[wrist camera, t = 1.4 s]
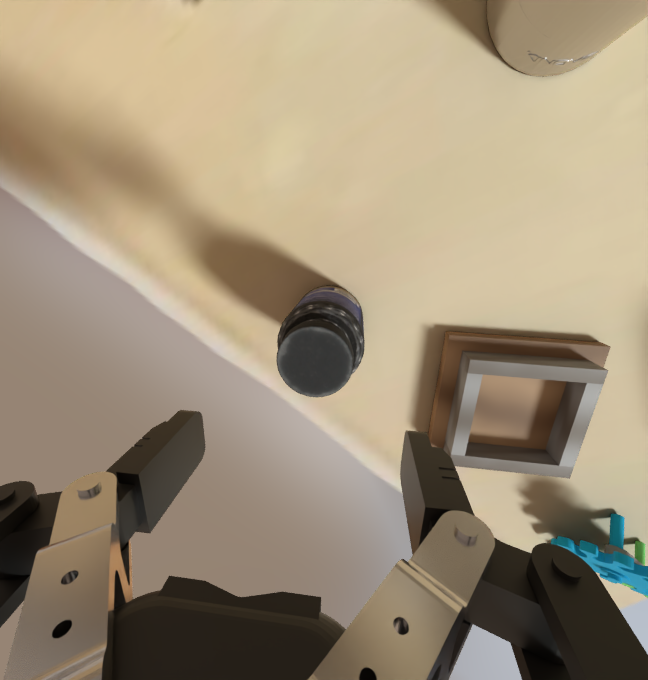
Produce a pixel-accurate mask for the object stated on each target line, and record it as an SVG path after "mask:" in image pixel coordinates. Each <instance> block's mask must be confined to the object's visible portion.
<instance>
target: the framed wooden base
mask: <svg viewBox="0 0 648 680" xmlns="http://www.w3.org/2000/svg"><path fill="white" fill-rule="evenodd" d="M609 350H610V346H608V345H605V344H603V343H601V342H590V341H576V340H562V339H548V338H534V337H520V336H506V335H491V334H477V333H463V332H449V331H446V334H445V339H444V345H443V351H442V357H441V363H440V368H439V374H438V380H437V386H436V392H435V397H434V403H433V409H432V415H431V420H430V426H429V432H428V437H429V440H430V443H431V446H432V447H439V448H442V449H443V450H444V451H445V452H446V453H447V454H448V455H449V456H450V457H451V458H452V461H453V463H454V466H459V467H469V468H478V469H487V470H497V471H506V472H515V473H524V474H534V475H543V476H552V477H562V478H570V476H571V473H572V471H573V468H574V465H575V462H576V459H577V457H578V454H579V451H580V448H581V445H582V443H583V440H584V437H585V434H586V431H587V429H588V426H589V423H590V420H591V417H592V415H593V412H594V409H595V406H596V403H597V400H598V398H599V395H600V392H601V389H602V386H603V384H604V381H605V378H606V375H607V372H608V370H606V369H604V368H603V367H604V364H605V361H606V358H607V356H608V353H609Z"/></svg>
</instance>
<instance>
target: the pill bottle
mask: <svg viewBox="0 0 648 680" xmlns="http://www.w3.org/2000/svg"><path fill="white" fill-rule="evenodd" d="M363 354H364V326H363V314H362V309H361V306H360V304H359V302H358V301H357V300H356V298H355V297H354V296H353V295H352V294H351V293H350V292H348V291H346V290H344V289H342V288H340V287H338V286H322V287H318V288H315V289H313V290H311V291H310V292H309V293H307V294H306V295H305V296H304V297H303V299H302V300H301V301H300V302H299V303H298V304H297V306H296V307H295V308H294V309H293V310H292V312H291V313H290V314H289V315H288V316H287V317H286V318H285V320H284V322H283V323H282V326H281V328H280V332H279V334H278V353H277V366H278V371H279V373H280V375H281V377H282V379H283V380H284V382H285V383H286V384H287V385H288V386H289V387H290V388H292V389H293V390H294V391H296V392H298V393H300V394H303V395H306V396H309V397H324V396H328V395H331V394H333V393H335V392H337V391H338V390H340V389H341V388H342V387H343V386H344V385H345V384H346V383H347V382H348V380H349V378H350V376H351V374H352V373H353V372H355V370H356V369H357V368H358V366H359V364H360V363H361V359H362V357H363Z"/></svg>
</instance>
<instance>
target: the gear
mask: <svg viewBox="0 0 648 680" xmlns="http://www.w3.org/2000/svg"><path fill="white" fill-rule="evenodd" d="M623 543H624V517H622V516H620V515H617V514H611V520H610V538H609V544H605V551H604V553H602V552H599V551H598V548H599V547H598V546H597V545H594V544H592V543H589V542H586V541H583V540H580V546H578V545H576V544H574V541H573V540H571V539H569V538H566V537H561V536H558V538H557V539H555V538H553V539H551V544H554V545H558V546H561V547H563V548H565V549H568V550H569V551H571V552H573V553H575V554H576V555H578V556H579V557H580V558H582V559H583V560H584V561H585V562H586V563H587V564H588V565H589V566H590V567H591V568H592V569H593V570H594V571H595V572H597V573H600V577H602V578H604V579H606V580H608V581H610V582H612V583H620V584H623V585H625V586H627V587H630V589H632V590H634V591H636V592H639V593H641V594H644V596H645V597H647V598H648V566H645V544H644V543H642V542H639V541H635V558H634V557H633V556H632V555H630V554H629V553H628V552H627V551H625V550H623Z"/></svg>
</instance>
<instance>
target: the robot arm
mask: <svg viewBox="0 0 648 680" xmlns="http://www.w3.org/2000/svg"><path fill="white" fill-rule="evenodd" d="M647 16H648V0H487V21H488V26H489V32H490V36H491V38H492V41H493V43H494V45H495V48H496V50H497V51H498V52H499V54H500V55H501V56H502V58H503V59H504V60H505V61H506V62H507V63H508V64H509V65H511V66H512V67H513V68H515V69H516V70H518V71H521V72H523V73H526V74H528V75H534V76H542V77H544V76H553V75H559V74H562V73H565V72H568V71H571V70H573V69H575V68H577V67H579V66H580V65H582V64H584V63H586V62H587V61H589V60H590V59H592V58H593V57H594V56H595V55H597V54H598V53H599V52H601V51H602V50H603V49H605V48H606V47H607V46H609V45H610V44H611V43H612V42H614V41H615V40H616V39H618V38H619V37H620V36H622V35H623V34H624V33H626V32H627V31H628V30H629V29H631V28H632V27H634V26H635V25H636V24H638V23H639V22H640V21H642V20H643V19H644V18H646V17H647ZM204 452H205V439H204V429H203V419H202V415H201V413H200V412H197V411H186V410H180V411H178V412H177V413H176V414H175V415H174V416H173V417H172V418H171V419H170V420H169V421H168V422H163V423H161V424H159V425H158V426H156V427H154V428H152V429H151V430H150V431H149V432H148V433H147V434H146V435H144V436H143V437H142V439H140V440H139V441H138V442H137V443H136V444H135V446H134V447H132V448H131V449H129V450H128V451H127V452H126V453H125V454H124V455H123V456H122V457H121V458H120V459H119V460H118V461H116V462H115V463H114V464H113V465H112V466H111V467H110V468H109V469H108V470H107V471H106V472H96V473H92V474H88V475H86V476H83V477H81V478H79V479H77V480H76V481H74V482H72V483H71V484H70V485H69V486H67V487H66V488H65V490H64V491H62V492H55V493H47V494H40V495H37V493H36V490H35V487H34V485H33V484H32V483H30V482H27V481H19V482H13V483H9V484H5V485H3V486H0V627H1V626H2V625H3V624H4V623H5V622H6V620H7V619H8V618H9V617H10V616H11V614H12V613H13V612H14V611H15V610H16V609H17V607H18V606H19V605H20V604H21V603H22V602H23V601H24V603H23V607H22V611H21V614H20V618H19V622H18V626H17V630H16V633H15V638H14V641H13V645H12V649H11V653H10V657H9V661H8V664H7V668H6V672H5V676H4V680H449V677H450V675H451V673H452V671H453V668H454V666H455V664H456V662H457V659H458V657H459V655H460V652H461V650H462V648H463V646H464V643H465V641H466V639H467V636H468V634H469V632H470V630H471V627H472V625H473V624H474V625H476V626H478V627H480V628H482V629H484V630H486V631H488V632H490V633H493V634H494V635H496V636H499V637H500V638H502V639H505V640H506V641H509V642H510V643H511V646H512V649H513V652H514V655H515V658H516V661H517V665H518V668H519V671H520V674H521V677H522V680H648V655H647V653H646V651H645V650H644V648H643V647H642V645H641V644H640V642H639V640H638V639H637V637H636V636H635V634H634V633H633V631H632V629H631V628H630V626H629V624H628V623H627V621H626V620H625V618H624V617H623V615H622V613H621V612H620V610H619V609H618V607H617V606H616V604H615V602H614V601H613V599H612V598H611V596H610V594H609V593H608V591H607V590H606V588H605V587H604V585H603V583H602V582H601V580H600V579H599V577H598V576H597V574H596V573H595V571H594V570H593V569H592V568H591V567H590V566H589V565H588V564H587V563H586V562H585V561H584V560H583V559H582V558H580V557H579V556H578V555H576V554H575V553H573V552H571V551H569V550H568V549H565V548H563V547H561V546H558V545H554V544H549V543H542V544H538V545H536V546H535V547H534V548H533V550H532V553H528V552H526V551H523V550H520V549H518V548H515V547H513V546H510V545H507V544H505V543H503V542H501V541H499V540H497V539H496V538H494V536H493V534H492V532H491V530H490V529H489V528H488V526H487V525H486V524H485V523H484V522H482V521H481V520H480V519H479V518H477V517H475V515H474V513H473V511H472V508H471V506H470V503H469V501H468V498H467V496H466V493H465V491H464V488H463V486H462V483H461V481H460V480H459V476H458V473H457V471H456V468H455V466H454V463H453V461H452V458H451V457H450V456H449V455H448V454H447V453H446V452H445V451H444V450H443V449H442V448H439V447H432V446H431V443H430V440H429V437H428V434H427V433H426V432H417V431H406V432H405V437H404V444H403V452H402V460H401V471H400V475H401V486H402V492H403V498H404V504H405V510H406V517H407V523H408V529H409V535H410V541H411V548H412V554H413V556H412V557H411V559H410V560H409V561H408V562H407V561H405V560H404V559H401V560H400V561H398V563H397V564H396V565H395V566H394V567H393V569H392V570H391V571H390V572H389V574H388V575H387V576H386V578H385V579H384V580H383V582H382V583H381V584H380V586H379V587H378V588H377V590H376V591H375V592H374V594H373V595H372V596H371V598H370V599H369V600H368V601H367V603H366V604H365V605H364V607H363V608H362V609H361V611H360V612H359V613H358V615H357V616H356V617H355V619H354V620H353V621H352V623H351V624H350V625H349V627H348V628H347V629H345V628H344V627H342V626H341V625H340V624H339V623H338V622H337V621H335V620H334V619H332V618H331V617H329V616H327V615H325V614H323V613H321V597H316V596H308V595H302V594H295V593H287V592H278V593H270V594H264V595H256V596H249V597H237V596H235V595H233V594H231V593H229V592H227V591H225V590H223V589H220V588H218V587H217V586H214V585H212V584H210V583H208V582H206V581H202V580H195V579H188V578H181V577H174V576H169V577H168V579H167V581H166V582H165V584H164V586H163V588H162V589H161V590H160V591H155V592H151V593H148V594H145V595H143V596H140V597H137V598H135V599H133V589H132V555H131V542H130V538H131V537H132V535H133V534H134V533H135V532H144V533H151V531H152V530H153V528H154V527H155V526H156V524H157V523H158V521H159V520H160V518H161V517H162V515H163V514H164V513H165V511H166V510H167V508H168V507H169V505H170V504H171V503H172V501H173V500H174V498H175V497H176V496H177V494H178V493H179V491H180V490H181V489H182V487H183V486H184V484H185V483H186V482H187V480H188V479H189V477H190V476H191V474H192V473H193V472H194V470H195V469H196V467H197V466H198V464H199V463H200V462H201V460H202V458H203V455H204Z"/></svg>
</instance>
